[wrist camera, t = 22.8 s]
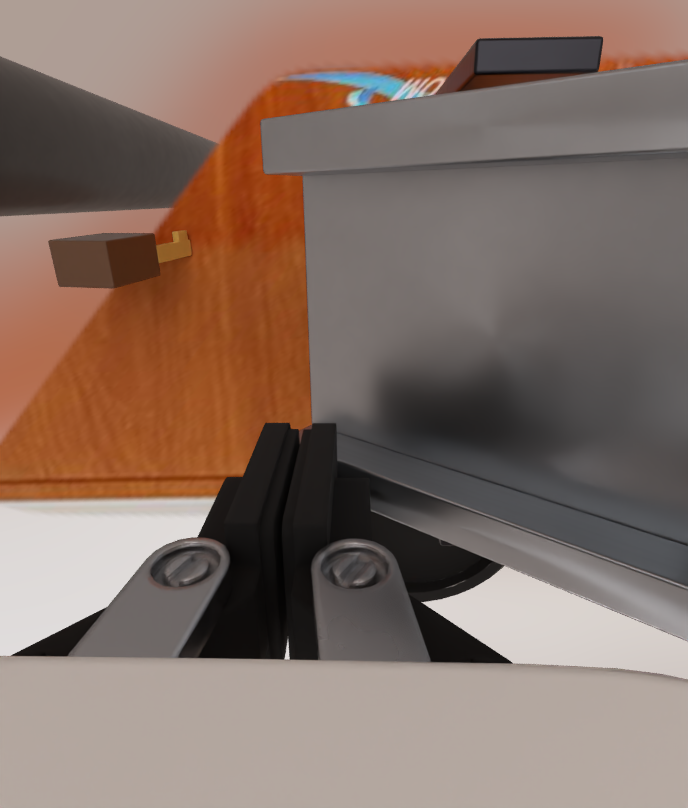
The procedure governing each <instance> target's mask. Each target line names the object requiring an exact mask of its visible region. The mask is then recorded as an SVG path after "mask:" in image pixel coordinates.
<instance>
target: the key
mask: <svg viewBox="0 0 688 808" xmlns="http://www.w3.org/2000/svg"><path fill="white" fill-rule="evenodd" d="M172 235H173V242H170V243H165V244H159V245H156V242H155V235H154V234H153V233H141V234H140V233H133V234H132V233H102V234H94V235H86V236H78V237H71V238H63V239H56V240H50V241H49V247H50V250H51V255H52V259H53V264H54V268H55V272H56V277H57V281H58V285H59V286H60V287H87V288H117V287H121V286H124V285H128V284H131V283H135V282H139V281H142V280H146V279H149V278H153V277H156V276H160V268H159V263H162V262H166V261H170V260H174V259H179V258H183V257H187V256H191V255H192V251H191V243H190V240H188V237H187V231H186V230H181V231H174V232H172Z"/></svg>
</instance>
